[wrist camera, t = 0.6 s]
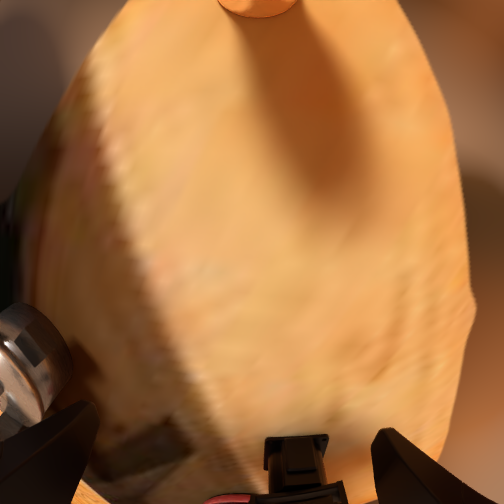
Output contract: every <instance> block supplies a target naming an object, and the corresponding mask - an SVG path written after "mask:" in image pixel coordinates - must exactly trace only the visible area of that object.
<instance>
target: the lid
mask: <svg viewBox="0 0 504 504" xmlns="http://www.w3.org/2000/svg"><path fill="white" fill-rule="evenodd" d="M0 410H1V411H2V412H3V413H2V415H1V416H0V441H4V440H5V439H7V438H9V437H11V436H13V435H15V434H17V433H19V432H21V431H23V430H25V429H27V428H29V427H31V426H33V425H35V424H37V423H39V422H41V420H42V419H43V417H44V414H45V409H44V405H43V401H42V399H41V396H40V394H39V392H38V390H37V388H36V387H35V385H34V383H33V382H32V380H31V379H30V377H29V375H28V374H27V373H26V371H25V370H24V368H23V367H22V366H21V364H20V363H19V362H18V361H17V359H16V358H15V357H14V356H13V355H12V354H11V352H10V351H9V350H8V349H7V348H6V347H5V346H4V345H3V344H2V343H1V342H0Z"/></svg>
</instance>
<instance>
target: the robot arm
mask: <svg viewBox="0 0 504 504" xmlns="http://www.w3.org/2000/svg"><path fill="white" fill-rule="evenodd" d="M99 426H100V418H99V415H98V412H97V409H96V406H95V404H94V403H93V402H91V401H88V400H80V401H78V402H76V403H74V404H73V405H71V406H69V407H67V408H65V409H63V410H61V411H60V412H58V413H56V414H54V415H52V416H50V417H48V418H46V419H44V420H42V421H41V422H39V423H37V424H35V425H33V426H31V427H29V428H27V429H25V430H23V431H21V432H19V433H17V434H15V435H13V436H11V437H9V438H7V439H5V440H4V441H0V504H71V501H72V499H73V496H74V494H75V491H76V489H77V487H78V484H79V482H80V480H81V477H82V475H83V473H84V470H85V468H86V466H87V463H88V461H89V458H90V455H91V452H92V448H93V445H94V442H95V438H96V435H97V432H98V429H99ZM328 441H329V437H328V435H327V434H321V435H309V436H294V437H268V438H266V439H265V446H264V470H266V471H268V480H269V494H261V495H257V494H252V495H251V496H250V501H248V504H348V500H347V496H346V492H345V489H344V485H343V481H342V480H341V481H337V482H336V483H332V484H327V479H326V473H325V468H324V463H323V457H324V454H325V451H326V447H327V444H328ZM371 456H372V464H373V472H374V481H375V488H376V493H377V497H378V501H379V504H497V503H495V502H494V501H492V500H490V499H488V498H486V497H484V496H483V495H481V494H480V493H478V492H477V491H475V490H474V489H472V488H471V487H469V486H468V485H466V484H465V483H462V481H461V480H459V479H458V478H457V477H455V476H454V475H452V474H451V473H450V472H449V471H447V470H446V469H445V468H443V467H442V466H441V465H439V464H438V463H437V462H436V461H434V460H433V459H432V458H430V457H429V456H428V455H426V454H425V453H424V452H423V451H421V450H420V449H419V448H418V447H416V446H415V445H414V444H412V443H411V442H410V441H409V440H407V439H406V438H405V437H404V436H402V435H401V434H400V433H399V432H398V431H396V430H395V429H394V428H391V427H389V428H382V429H380V430H379V431H378V433H377V435H376V437H375V439H374V440H373V442H372V444H371Z"/></svg>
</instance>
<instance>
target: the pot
mask: <svg viewBox="0 0 504 504" xmlns="http://www.w3.org/2000/svg"><path fill="white" fill-rule="evenodd" d="M0 342H1V343H2V344H3V345H4V346H5V347H6V348H7V349H8V350H9V351H10V352H11V354H12V355H13V356H14V357H15V358H16V359H17V361H18V362H19V363H20V364H21V366H22V367H23V368H24V370H25V371H26V373H27V374H28V375H29V377H30V379H31V380H32V382H33V383H34V385H35V387H36V388H37V390H38V392H39V394H40V396H41V399H42V401H43V405H44V409H45V411H46V410H47V408H48V407H49V406H50V404H51V403H52V402H53V400H54V399H55V398H56V396H57V395H58V394H59V392H60V391H61V390H62V388H63V387H64V386H65V385H66V383H67V382H68V381H69V379H70V378H71V376H72V372H73V364H72V359H71V355H70V352H69V350H68V348H67V345H66V343H65V342H64V340H63V338H62V336H61V335H60V333H59V332H58V330H57V329H56V328H55V326H54V325H53V324H52V323H51V322H50V321H49V320H48V319H47V318H46V317H45V316H44V315H43V314H42V313H41V312H40V311H38V310H37V309H35V308H34V307H32V306H30V305H28V304H25V303H15V304H12V305H11V306H9V307H8V308H7V309H5V310H4V311H2V312H1V313H0Z"/></svg>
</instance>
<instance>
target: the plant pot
mask: <svg viewBox="0 0 504 504" xmlns="http://www.w3.org/2000/svg"><path fill="white" fill-rule="evenodd" d="M250 496H251V495H246V494H234V493H231V494H229V495H221V496H216V497H213V498H210V499H208V500H207V501H205V502H204V503H203V504H248V501H250Z"/></svg>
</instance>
